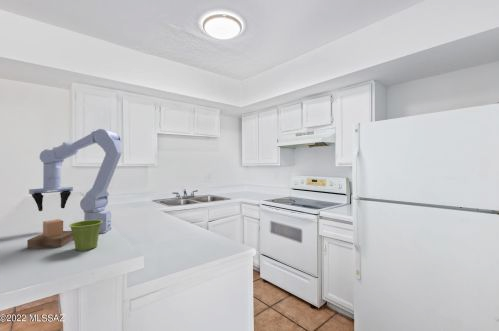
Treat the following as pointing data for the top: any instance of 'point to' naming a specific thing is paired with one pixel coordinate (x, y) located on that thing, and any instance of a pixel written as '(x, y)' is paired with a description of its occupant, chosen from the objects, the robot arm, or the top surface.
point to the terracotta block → (52, 228)
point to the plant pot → (86, 234)
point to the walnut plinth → (50, 240)
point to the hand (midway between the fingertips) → (51, 209)
